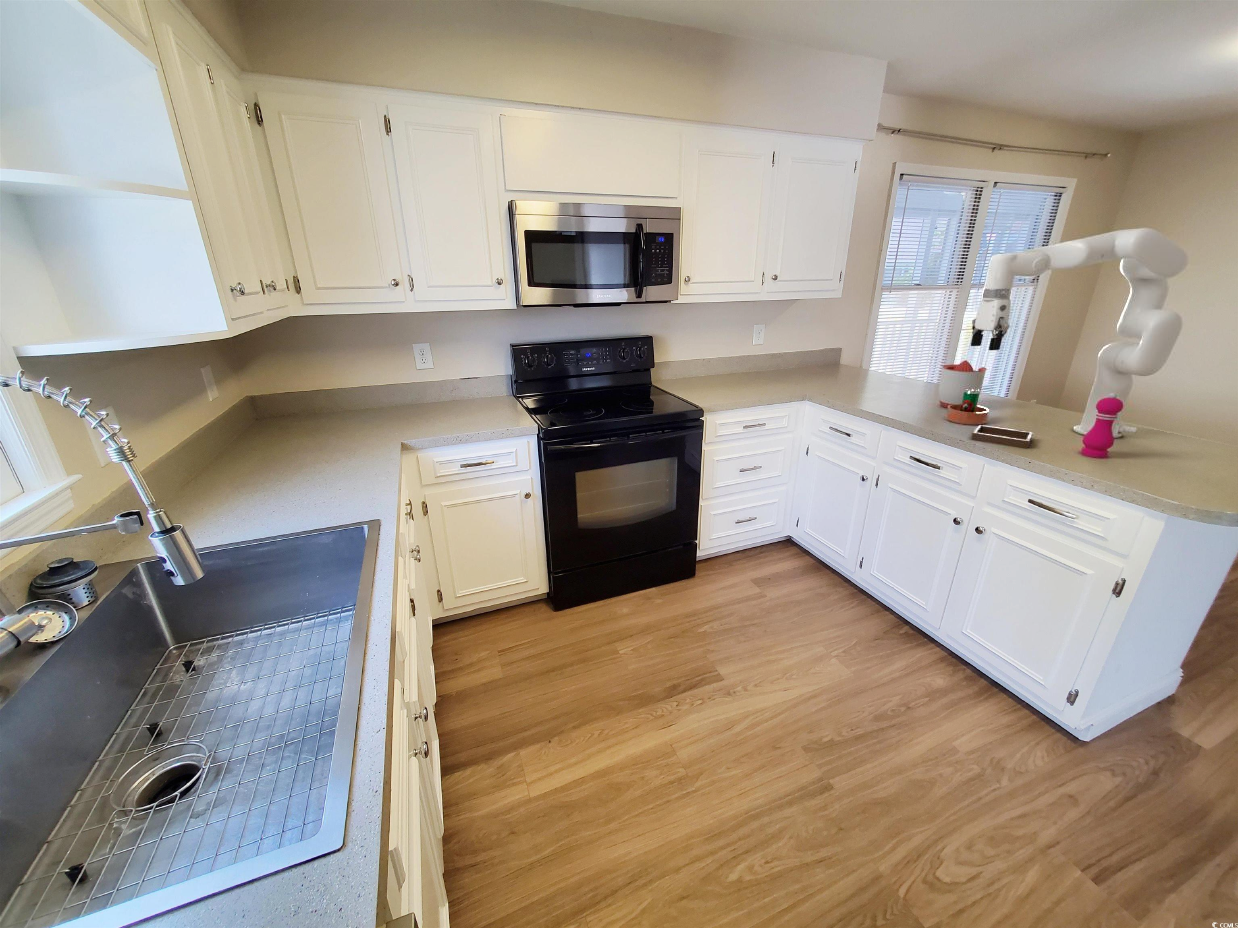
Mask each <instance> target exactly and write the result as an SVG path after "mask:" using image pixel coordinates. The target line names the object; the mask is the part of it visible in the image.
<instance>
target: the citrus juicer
mask: <svg viewBox="0 0 1238 928" xmlns="http://www.w3.org/2000/svg"><path fill="white" fill-rule="evenodd" d="M941 368H942V370H941V375H940V379H939V384H938V401H939V402H938V403H939V405H940V406H941V407H944V408H946V409H948V406H949V405H954V404H961V403H962V398H963V394H964V391H965V390H966V389H977V390H979V393H980V394H979V396H980V395H981V392H982V388H983V384H984V379H985V375H986V371H987V367H985V366H982V367H979V368H978V370H974V368H973V366H972V364H971V363H970V362H969V361H968V360H966V359H964V360H962V361H961V362H960V363H959V364H955V363H953V364H945V365H942V367H941Z"/></svg>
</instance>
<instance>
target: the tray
mask: <svg viewBox="0 0 1238 928" xmlns="http://www.w3.org/2000/svg"><path fill="white" fill-rule="evenodd" d="M1033 435H1034V432H1032V431H1027V430H1026V431H1024V430H1018V429H1010V428H1004V427H1003V428H1002V427H996V426H989V425H984V424H978V426H977V427H976V428H975V430H973V432H972V435H971V441H978V442H984V443H991V444H996V445H1003V446H1008V447H1009V446H1010V447H1017V448H1021V449H1028V447H1029V446H1030V443H1031V441H1032V440H1033V439H1032V438H1033Z"/></svg>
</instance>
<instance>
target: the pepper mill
mask: <svg viewBox="0 0 1238 928" xmlns="http://www.w3.org/2000/svg"><path fill="white" fill-rule="evenodd" d="M1116 397H1117V394H1116V393H1111V394H1109V397H1108V398H1103V399H1101V400H1099V401H1098V402H1097V404H1096V409H1097V410H1098V412H1096V415H1095V417H1096V422H1095V424H1094V426H1093V427H1092V428H1091V429H1090V430H1089V431H1088V432H1087V433H1086V434H1085V435H1084V436H1083V437H1082V439H1081V442H1082V444H1083V446H1082V447H1081V448H1080V454H1081V455H1083V456H1085V457H1090V458H1095V459H1105V458H1107V457H1108V455H1109V449H1111V448H1112V447H1113V446H1114V444H1115V438H1114V437H1113V433H1112V425H1113V422H1114V420H1116V419H1117V416H1118V414H1117V413H1119V412H1120V411H1122V409H1123V402H1122V401H1121V400H1119V399H1117V398H1116Z"/></svg>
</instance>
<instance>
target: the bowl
mask: <svg viewBox="0 0 1238 928" xmlns="http://www.w3.org/2000/svg"><path fill="white" fill-rule="evenodd" d="M960 407H961V404H954V405H949V406H948V408H946V414H945V419H946V420H948V421H950V422H952V423H956V424H959V425H967V426H976V425H978V426H979V425H984V424H986V423H987V420H988V416H989V413H990V409H988V408H987V407H984V406H981V405H977V407H976V411H975V413H974V412H963V411H960Z"/></svg>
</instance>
